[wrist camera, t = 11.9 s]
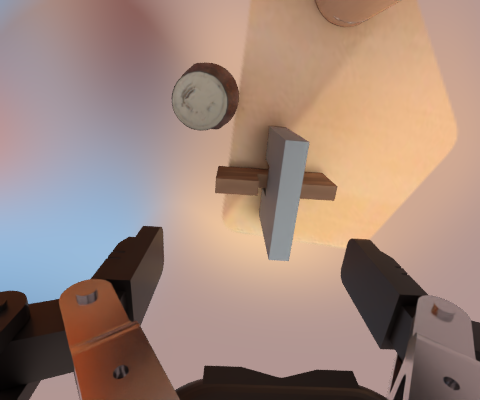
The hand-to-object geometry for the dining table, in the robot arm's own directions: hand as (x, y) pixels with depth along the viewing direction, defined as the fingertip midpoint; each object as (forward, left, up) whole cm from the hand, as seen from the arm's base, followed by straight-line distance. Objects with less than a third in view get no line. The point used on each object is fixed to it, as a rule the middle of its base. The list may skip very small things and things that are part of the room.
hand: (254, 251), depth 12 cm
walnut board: (+5, +5, -30) cm, 31 cm away
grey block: (+5, +5, -30) cm, 31 cm away
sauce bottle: (-6, -4, -30) cm, 31 cm away
